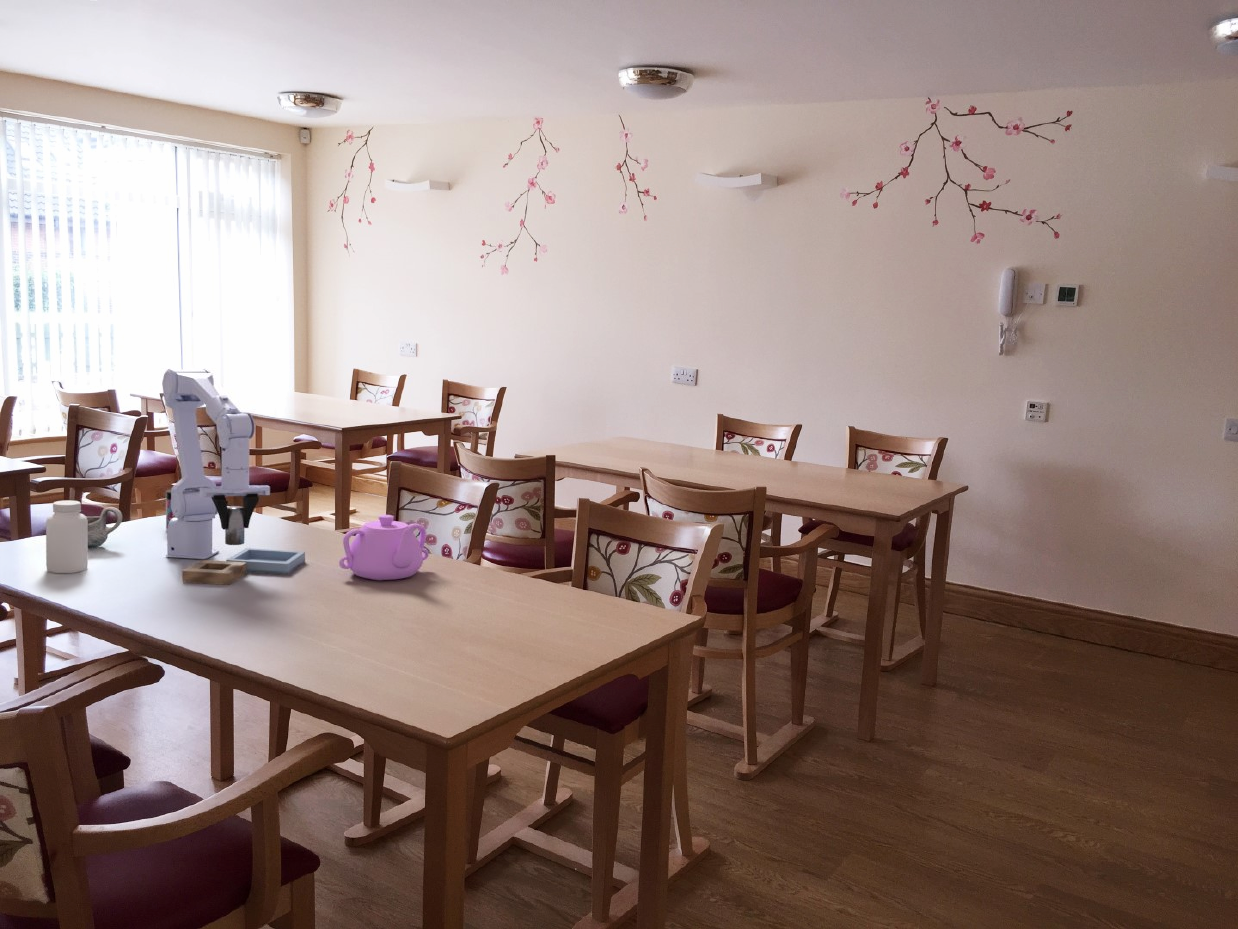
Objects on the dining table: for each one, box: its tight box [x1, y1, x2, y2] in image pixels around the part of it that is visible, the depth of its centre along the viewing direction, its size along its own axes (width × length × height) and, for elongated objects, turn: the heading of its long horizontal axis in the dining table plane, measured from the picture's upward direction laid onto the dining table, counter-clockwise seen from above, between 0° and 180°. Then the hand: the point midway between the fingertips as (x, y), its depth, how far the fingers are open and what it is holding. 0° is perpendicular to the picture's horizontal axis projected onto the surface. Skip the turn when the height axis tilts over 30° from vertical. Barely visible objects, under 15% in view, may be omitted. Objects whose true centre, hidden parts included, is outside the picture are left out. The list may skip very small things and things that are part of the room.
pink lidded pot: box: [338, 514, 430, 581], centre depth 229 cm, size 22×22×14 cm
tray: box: [225, 547, 306, 576], centre depth 232 cm, size 14×12×2 cm
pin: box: [224, 505, 246, 546], centre depth 223 cm, size 4×4×8 cm
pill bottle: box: [45, 499, 89, 574], centre depth 218 cm, size 8×8×15 cm
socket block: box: [181, 559, 247, 586], centre depth 220 cm, size 10×10×2 cm
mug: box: [86, 506, 123, 550], centre depth 238 cm, size 10×12×10 cm
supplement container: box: [165, 488, 195, 530], centre depth 262 cm, size 7×7×10 cm
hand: (235, 528), depth 223 cm, fingers closed on pin, 4 cm apart
